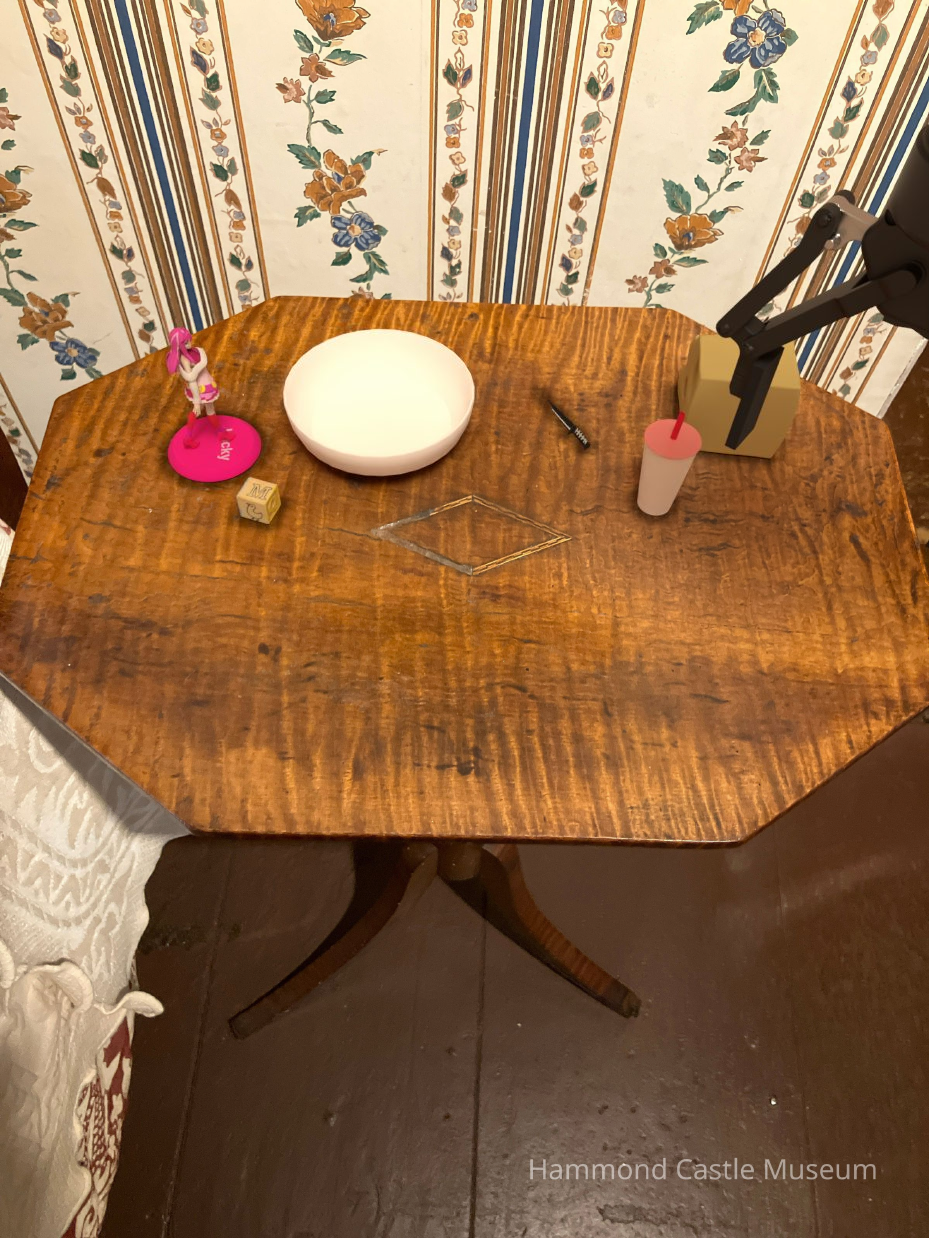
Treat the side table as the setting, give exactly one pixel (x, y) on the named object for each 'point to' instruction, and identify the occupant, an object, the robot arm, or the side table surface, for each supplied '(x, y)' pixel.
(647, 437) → the cup
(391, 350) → the bowl
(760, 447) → the cheese
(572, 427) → the knife
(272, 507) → the alphabet block
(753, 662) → the side table surface
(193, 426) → the figurine
